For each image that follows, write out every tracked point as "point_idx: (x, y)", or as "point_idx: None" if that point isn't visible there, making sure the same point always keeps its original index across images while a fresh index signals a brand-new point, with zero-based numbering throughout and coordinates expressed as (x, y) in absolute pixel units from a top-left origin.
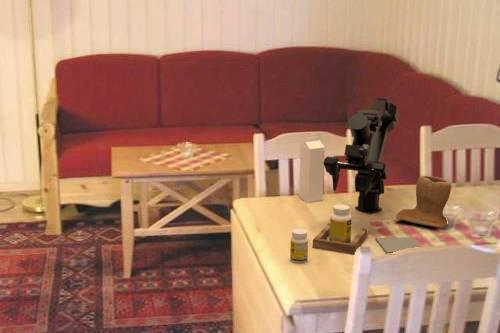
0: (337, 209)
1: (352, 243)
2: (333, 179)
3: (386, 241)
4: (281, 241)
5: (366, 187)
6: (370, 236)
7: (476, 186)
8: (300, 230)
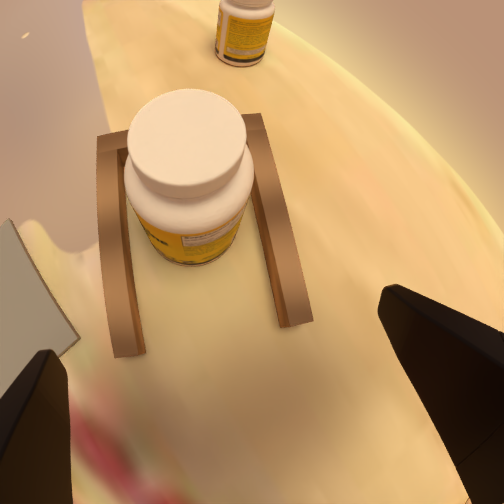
0: (192, 89)
1: (108, 153)
2: (484, 328)
3: (32, 323)
4: (365, 137)
5: (12, 395)
6: (116, 370)
7: None
8: None
